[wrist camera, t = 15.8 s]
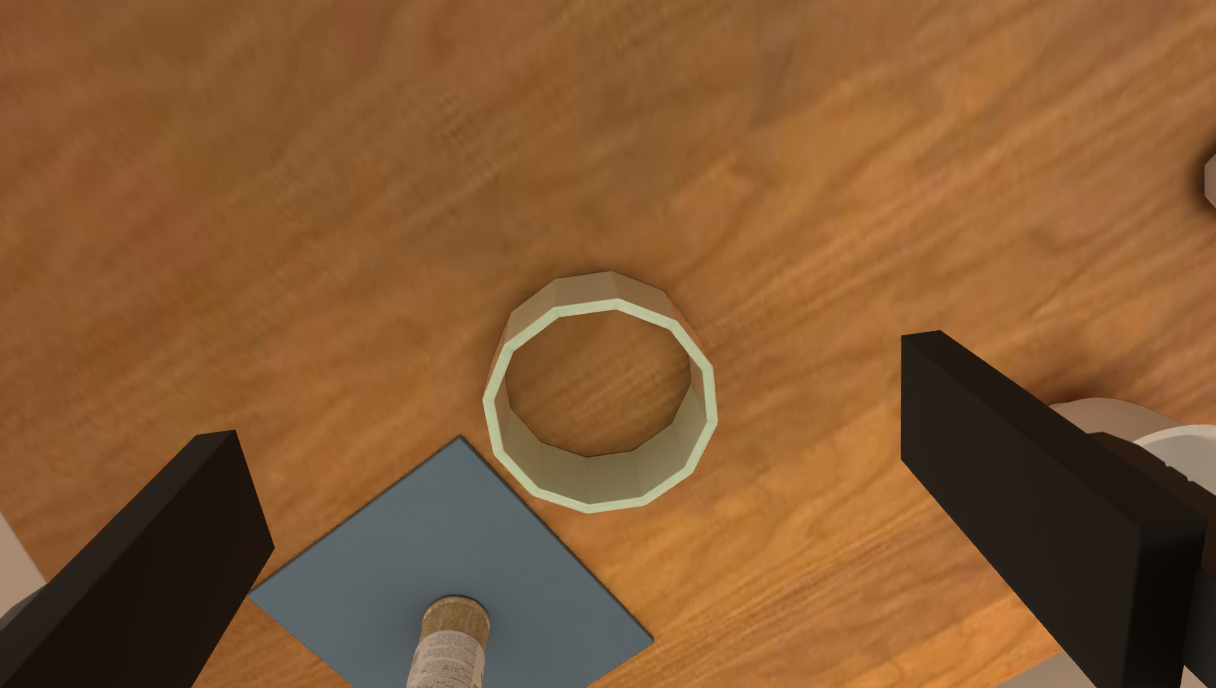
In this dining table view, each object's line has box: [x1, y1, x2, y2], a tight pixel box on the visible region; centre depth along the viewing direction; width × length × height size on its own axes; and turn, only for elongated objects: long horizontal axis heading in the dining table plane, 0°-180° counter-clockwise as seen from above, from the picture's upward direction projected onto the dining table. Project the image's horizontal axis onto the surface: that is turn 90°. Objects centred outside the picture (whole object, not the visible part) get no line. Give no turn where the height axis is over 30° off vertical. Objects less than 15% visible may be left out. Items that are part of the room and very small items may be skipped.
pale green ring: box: [482, 271, 718, 514], centre depth 43 cm, size 12×12×6 cm
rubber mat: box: [247, 435, 654, 688], centre depth 51 cm, size 20×18×1 cm
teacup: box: [1049, 398, 1216, 495], centre depth 44 cm, size 12×15×10 cm
